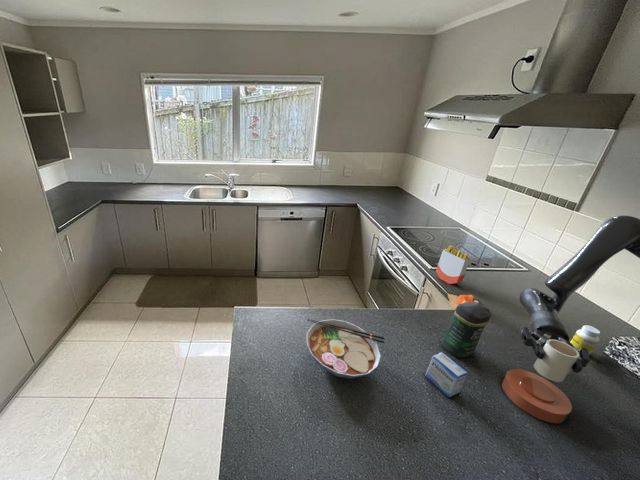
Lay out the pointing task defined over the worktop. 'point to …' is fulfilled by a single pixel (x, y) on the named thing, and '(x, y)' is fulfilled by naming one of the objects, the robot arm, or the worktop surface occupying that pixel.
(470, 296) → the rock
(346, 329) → the ramen bowl
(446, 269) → the french fries container
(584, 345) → the supplement bottle
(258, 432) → the worktop surface
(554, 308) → the robot arm
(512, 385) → the terracotta pedestal disc
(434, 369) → the medicine box
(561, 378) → the cream cup
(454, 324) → the coffee jar
